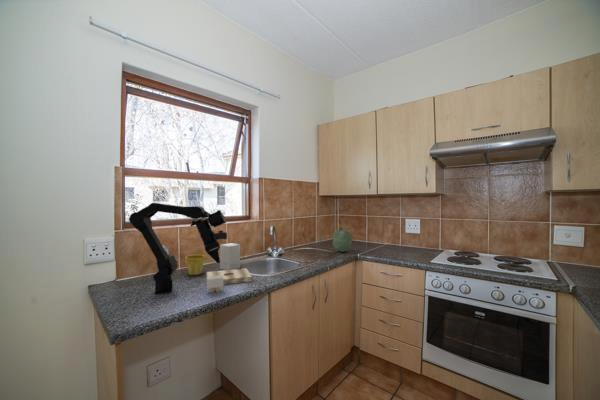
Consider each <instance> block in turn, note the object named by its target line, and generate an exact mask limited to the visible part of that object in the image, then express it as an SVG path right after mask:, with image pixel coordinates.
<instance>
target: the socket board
mask: <svg viewBox="0 0 600 400" xmlns="http://www.w3.org/2000/svg"><path fill="white" fill-rule="evenodd" d="M219 275H223V285H231V284H232V285H233V284H241V283H248V282H249V281H250V282H253V275H252V273H250V271H249V270H248V268H246V267H245V268H238V269H234V270H223V269H222V270H214V271H207V272H206V278H207V277H208V276H219ZM250 282H249V283H250Z"/></svg>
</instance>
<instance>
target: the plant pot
mask: <svg viewBox="0 0 600 400" xmlns="http://www.w3.org/2000/svg"><path fill="white" fill-rule="evenodd" d="M184 261H185V264H186V268H187V272H188V275H189V276H198V275H201V273H202V271H203V267H204V263H205V262H206V256H205V254H204V255H203V254H192V255H191V254H190V255H188V256H185V259H184Z"/></svg>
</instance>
